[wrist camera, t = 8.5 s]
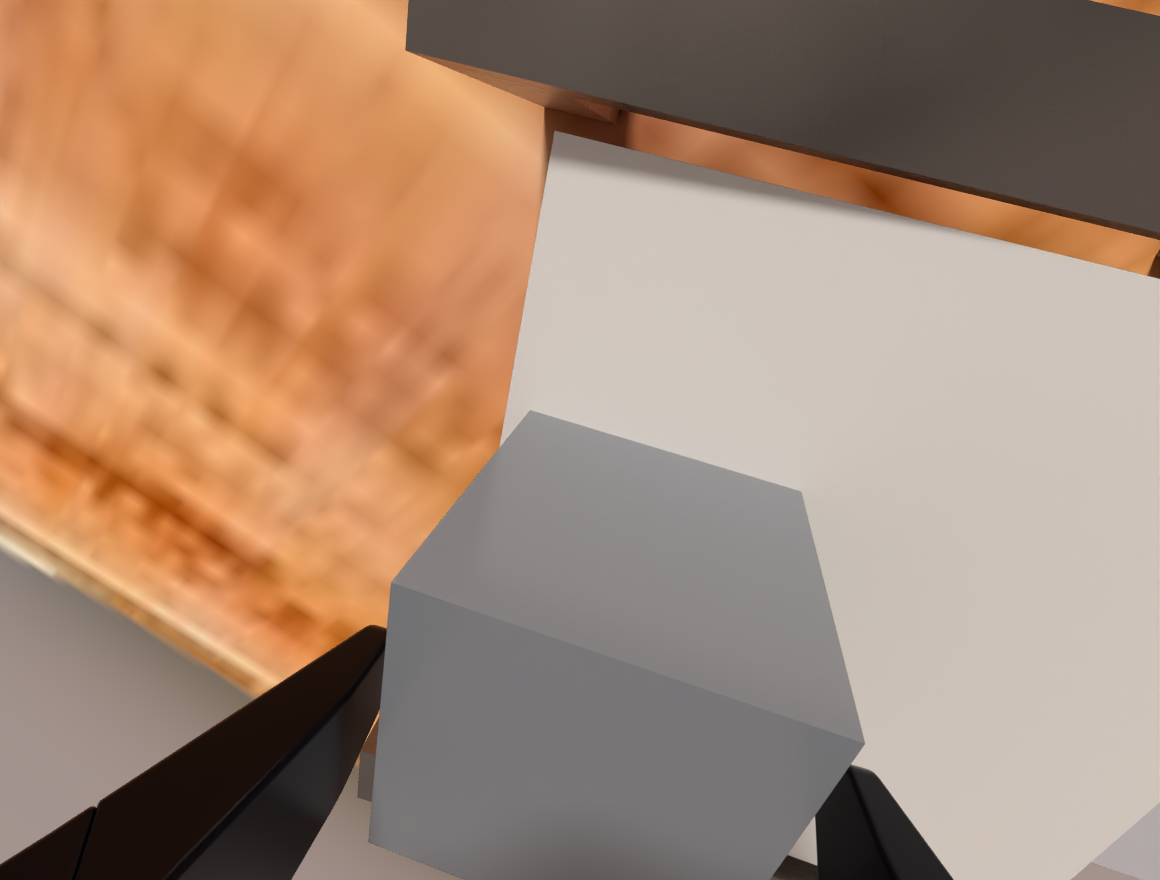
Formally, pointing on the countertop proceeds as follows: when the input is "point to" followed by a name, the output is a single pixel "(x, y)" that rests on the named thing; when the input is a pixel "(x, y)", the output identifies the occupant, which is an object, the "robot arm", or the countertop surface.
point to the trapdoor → (900, 473)
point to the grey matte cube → (610, 671)
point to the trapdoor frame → (849, 96)
